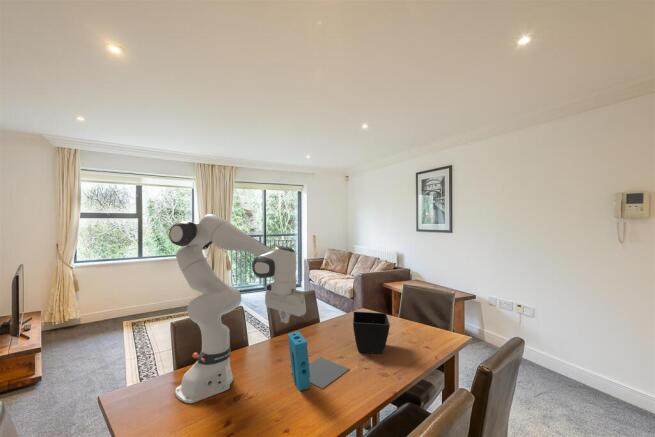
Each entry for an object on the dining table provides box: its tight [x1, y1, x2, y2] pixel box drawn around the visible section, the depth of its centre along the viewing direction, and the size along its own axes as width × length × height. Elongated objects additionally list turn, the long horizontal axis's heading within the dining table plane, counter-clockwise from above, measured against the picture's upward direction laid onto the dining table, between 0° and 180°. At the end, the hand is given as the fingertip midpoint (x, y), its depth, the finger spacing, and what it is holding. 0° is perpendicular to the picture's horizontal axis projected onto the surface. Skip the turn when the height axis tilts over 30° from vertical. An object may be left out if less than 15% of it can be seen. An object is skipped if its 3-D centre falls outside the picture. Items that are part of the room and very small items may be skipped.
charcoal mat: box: [291, 356, 351, 390], centre depth 131 cm, size 20×18×1 cm
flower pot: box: [352, 311, 391, 355], centre depth 157 cm, size 19×19×17 cm
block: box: [287, 331, 311, 392], centre depth 121 cm, size 12×5×20 cm, turn 23°
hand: (284, 322), depth 114 cm, fingers closed
